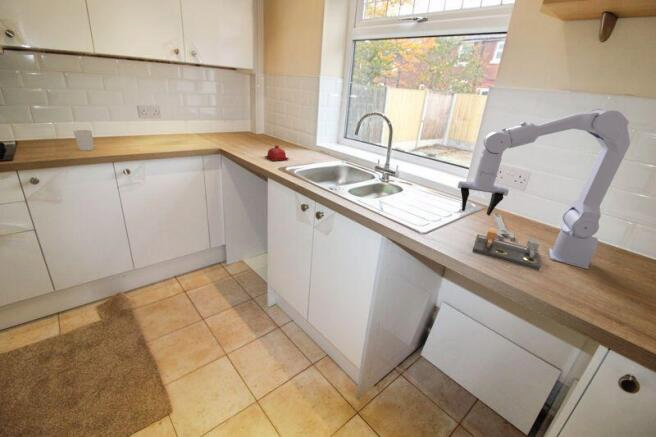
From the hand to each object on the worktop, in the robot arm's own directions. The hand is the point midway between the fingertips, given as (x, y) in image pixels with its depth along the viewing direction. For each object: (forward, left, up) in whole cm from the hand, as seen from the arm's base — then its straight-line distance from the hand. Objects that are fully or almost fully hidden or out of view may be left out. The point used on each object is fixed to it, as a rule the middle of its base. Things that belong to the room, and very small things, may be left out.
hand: (475, 212), depth 103 cm
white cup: (+199, +19, -10) cm, 200 cm away
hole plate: (-11, +3, -10) cm, 15 cm away
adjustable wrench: (-10, -19, -10) cm, 23 cm away
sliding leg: (-6, +3, -8) cm, 11 cm away
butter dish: (+114, -42, -10) cm, 122 cm away
